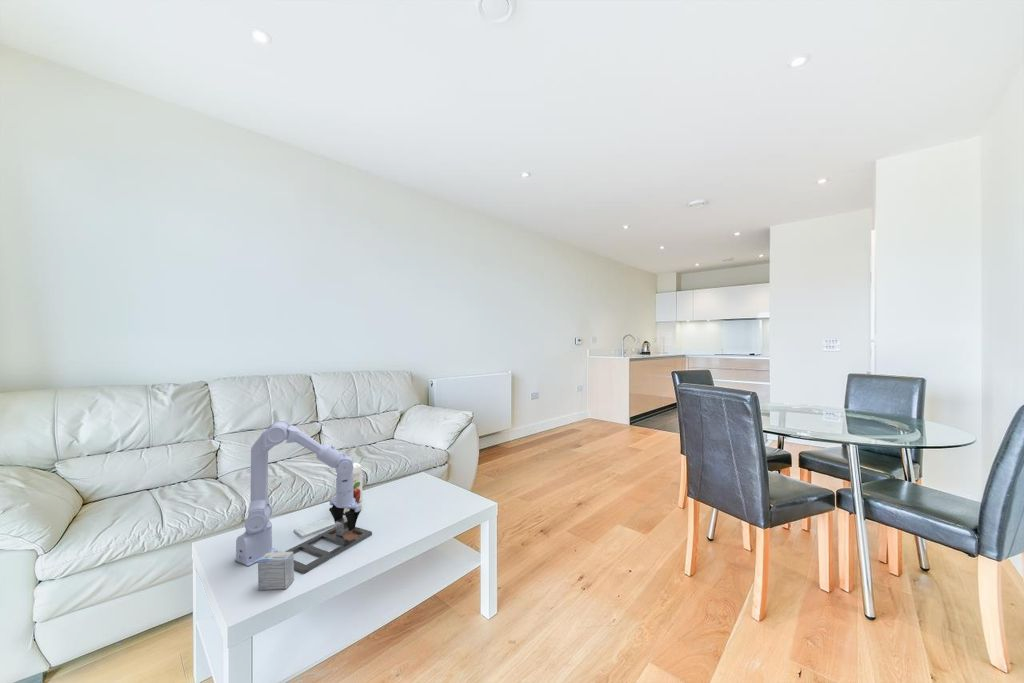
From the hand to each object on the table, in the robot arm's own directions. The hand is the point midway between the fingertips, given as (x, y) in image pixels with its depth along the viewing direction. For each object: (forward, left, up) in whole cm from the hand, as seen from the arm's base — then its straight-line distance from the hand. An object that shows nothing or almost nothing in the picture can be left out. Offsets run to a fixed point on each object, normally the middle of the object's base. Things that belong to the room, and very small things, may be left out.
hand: (345, 527), depth 135 cm
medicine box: (-28, -6, -3) cm, 29 cm away
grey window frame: (-8, 0, -3) cm, 9 cm away
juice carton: (+16, +17, -3) cm, 24 cm away
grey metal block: (0, 0, -3) cm, 3 cm away
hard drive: (-1, +16, -4) cm, 16 cm away
